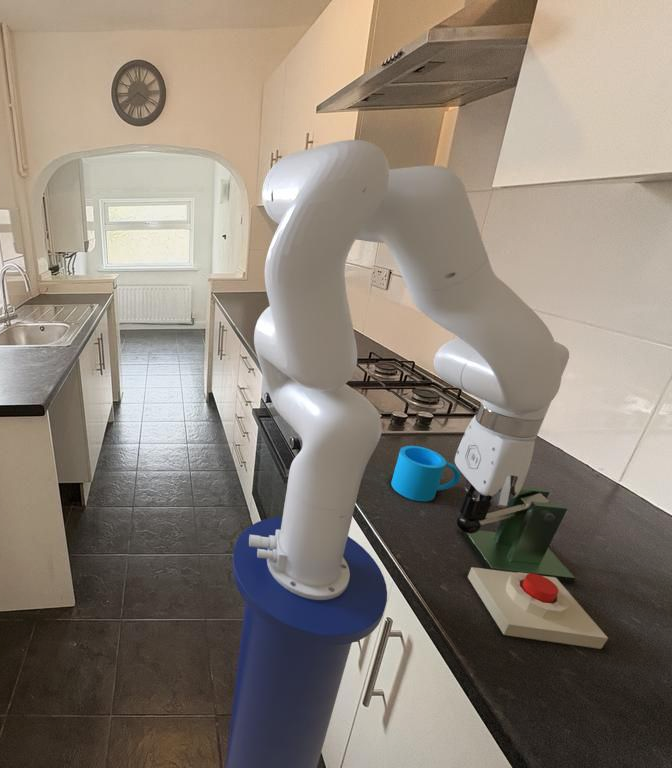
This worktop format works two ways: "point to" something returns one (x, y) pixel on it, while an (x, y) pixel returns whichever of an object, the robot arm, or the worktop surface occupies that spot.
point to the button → (540, 588)
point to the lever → (499, 514)
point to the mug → (421, 473)
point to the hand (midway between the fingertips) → (471, 515)
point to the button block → (534, 610)
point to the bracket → (524, 540)
